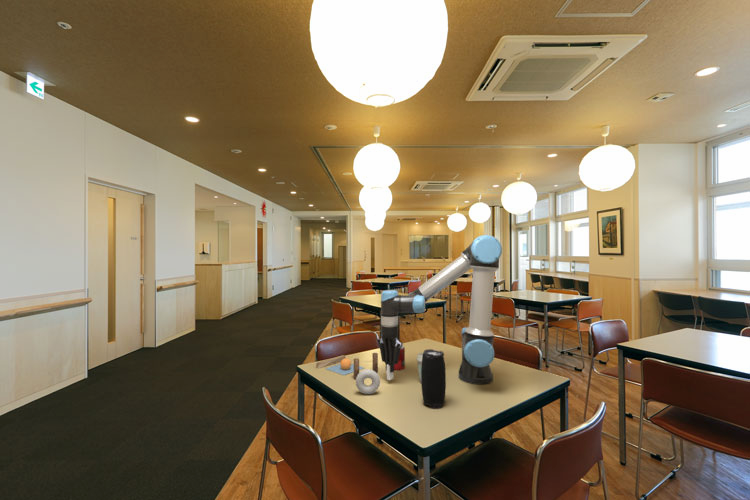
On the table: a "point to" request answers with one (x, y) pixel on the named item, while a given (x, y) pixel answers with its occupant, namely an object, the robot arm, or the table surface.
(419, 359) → the coffee cup
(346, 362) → the ball
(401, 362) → the canned food
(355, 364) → the left post
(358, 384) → the donut
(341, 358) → the stopper rail
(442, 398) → the portable speaker
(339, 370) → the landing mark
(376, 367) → the right post
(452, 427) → the table surface
